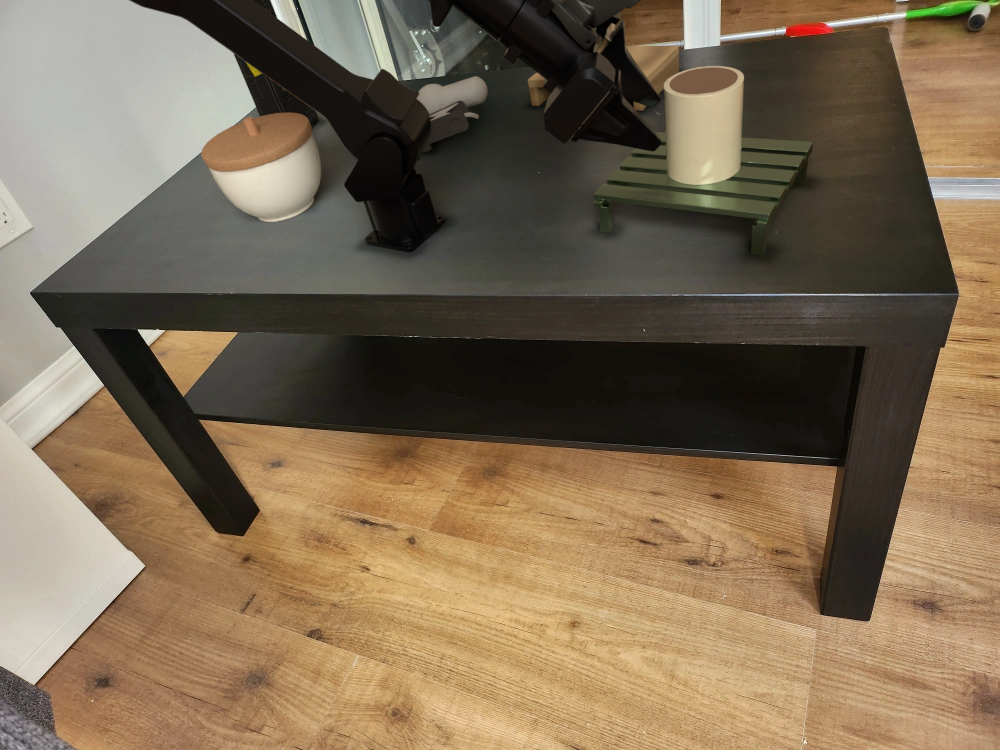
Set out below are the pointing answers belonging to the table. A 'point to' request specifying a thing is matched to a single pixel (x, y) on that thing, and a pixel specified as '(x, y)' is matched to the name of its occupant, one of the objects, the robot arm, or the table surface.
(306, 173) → the lidded bowl
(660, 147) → the rack
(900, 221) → the table surface
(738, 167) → the cup
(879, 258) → the table surface
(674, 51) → the shelf
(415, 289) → the table surface
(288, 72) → the robot arm
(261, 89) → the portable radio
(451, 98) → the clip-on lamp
